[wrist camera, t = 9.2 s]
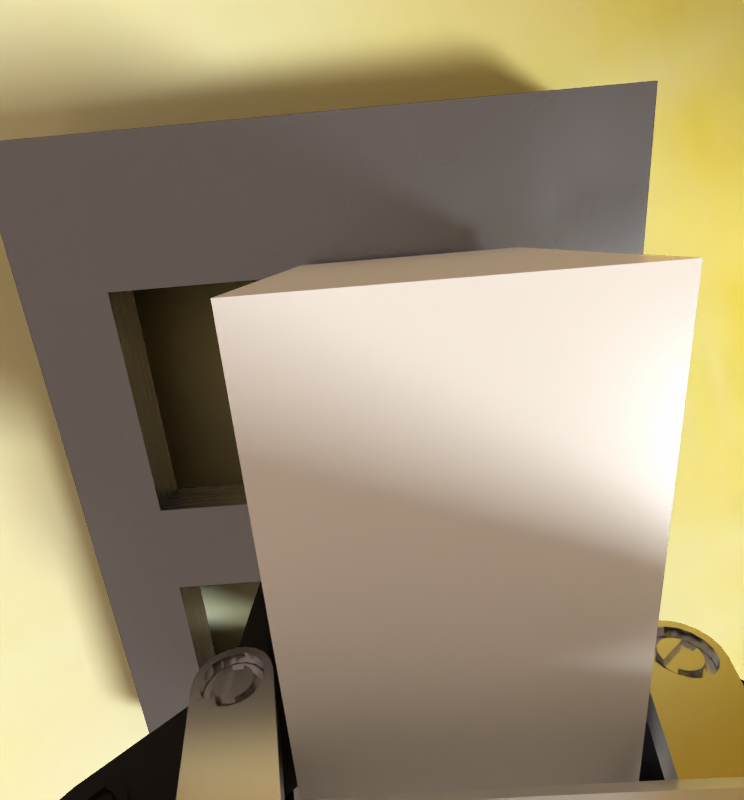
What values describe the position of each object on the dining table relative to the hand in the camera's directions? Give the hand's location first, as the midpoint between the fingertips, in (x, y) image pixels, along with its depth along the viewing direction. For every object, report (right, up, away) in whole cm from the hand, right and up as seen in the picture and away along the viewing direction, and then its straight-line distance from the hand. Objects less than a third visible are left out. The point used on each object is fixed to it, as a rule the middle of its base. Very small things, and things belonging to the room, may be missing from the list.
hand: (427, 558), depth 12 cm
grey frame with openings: (-2, +1, +4) cm, 5 cm away
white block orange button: (0, +1, +4) cm, 4 cm away
